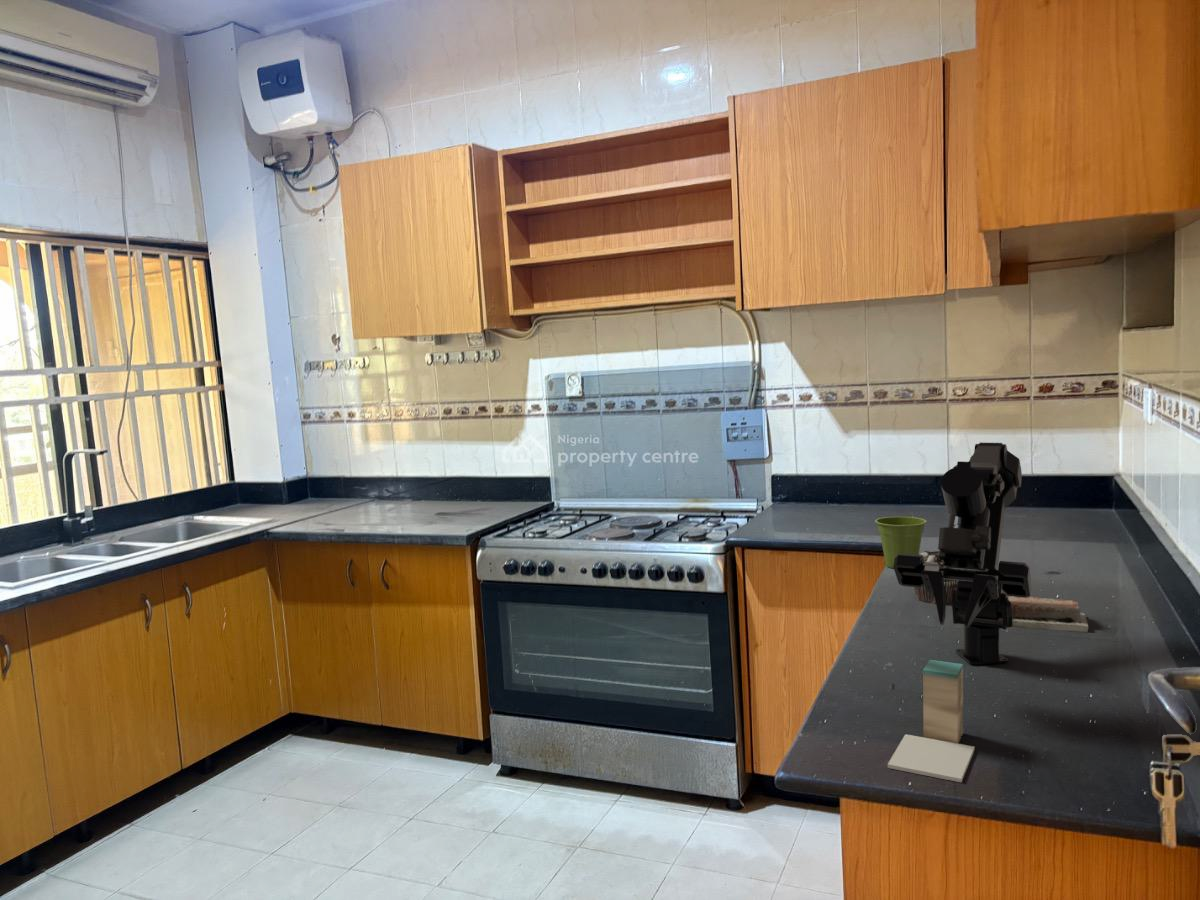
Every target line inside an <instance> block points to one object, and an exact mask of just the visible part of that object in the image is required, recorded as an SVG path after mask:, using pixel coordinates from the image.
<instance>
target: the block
mask: <svg viewBox="0 0 1200 900" xmlns="http://www.w3.org/2000/svg"><path fill="white" fill-rule="evenodd" d="M922 682H923V683H922V685H923V687H922V690H923V691H922V693H923V694H922V695H923V696H922V697H923V699H922V700H923V701H922V702H923V705H922V706H923V707H922V711H923V714H922V715H923V716H922V717H923V723H922V724H923V725H922V726H923V737H924V738H929V739H935V740H941V741H946V742H952V743H957V744H960V741H961V739H962V737H961V736H963V734H964V664H963V663H957V662H956V663H955V662H949V661H943V660H942V661H940V660H935V659H929V661H928V662H927V663H926V665H925V667H924V668H923V670H922Z"/></svg>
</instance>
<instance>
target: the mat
mask: <svg viewBox="0 0 1200 900" xmlns="http://www.w3.org/2000/svg"><path fill="white" fill-rule="evenodd" d="M975 748H976V747H975V746H974V745H967V744H963V743H958V744H957V743H952V742H946V741H941V740H935V739H929V738H924V736H917V735H911V734H904V736H903V738H902V739H901V741H900V742H899V744H898V746H897V747H896V749H895V751H894V753H893V754H892V756H891V757H890V760H889V761H888V763H887V769H891V770H892V769H893V770H896V771H902V772H907V773H911V774H916V775H921V776H925V777H927V776H928V777H932V778H936V779H941V780H947V781H952V782H957V783H963V779H964V777H965V774H966V773H967V770H968V768H969V764H970V763H971V760H972V758H973V756H974V753H975V750H976V749H975Z"/></svg>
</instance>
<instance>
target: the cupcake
mask: <svg viewBox="0 0 1200 900" xmlns="http://www.w3.org/2000/svg"><path fill="white" fill-rule="evenodd" d="M939 551H940V550H936V551H929V550H924V552H920V553H919V555H923V558H924V562H937V563H940V564H942V561H943V560H940V559H939ZM957 584H958V580H951V579H945V582H944V585H945V588H946V604H950V603H951V604H952V593H953V589H957ZM913 591H914V595H915V599H916V600H917V601H919V602H922V603H926V604H935V605H936V601H935V598H934V595H933V593H928V592H927V591H926V590H925V586H924V585H923V586H922V587H913Z"/></svg>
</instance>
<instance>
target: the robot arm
mask: <svg viewBox="0 0 1200 900" xmlns="http://www.w3.org/2000/svg"><path fill="white" fill-rule="evenodd" d="M1021 467H1022V466H1021V461H1020V458H1019V457H1018V456H1016V455H1015V454H1013V453H1011V452H1010V451H1009V450H1008V446H1007V444H1005V443H1002V442H981V441H980V442H979V443H976V444H974V452H973V454H972V455H971V456H970V457H969V461H960V460H959V461H957V463H956V465H955V466H953V467H952V468H950V469H949V470H947V471H946V472H945V473H943V475H942V476H941V479H940V485H941V491H942V495H943V499H944V500H943V501H944V504H945V508H946V511H947V512H948V514H949V519H948V523H947V527H942V526H941V527H939V531H938V543H937V545H938V546H937V549H938V551H939V559H940V560H943V561H942V564H940V563H937V562H924V558H923V555H920V554H919V555H917V554H904V553H900V554H899V555H898V556H896V557H895V560H894V565H893V568H892V569H893V571H894V573H895V576H896V580H897V582H898V584H899V585H900V586H903V587H911V588H912V587H913V588H914V587H922V586H923V585H924V586H925V590H926V591H927V592H928V593H933V595H934V598H935V601H936V604H935V605H936V610H937V614H938V615H937V616H938V621H939V624H940V626H942V625H943V626H944V624H945V619H946V608H947V603H946V588H945V585H944V582H945V579H951V580H958V584H957V589H953V593H952V603H951V608H952V622H953V625H957V624H958V625H963V648H958V649H956V650H955V653H956V654H957V655H958V656H959V657H961V658H962V659H963V660H964V661H966V663H968V664H969V665H972V666H973V665H990V664H994V665H995V664H1008V663H1009V659H1008V658H1007V657H1005V656H1004V655H1003V654H1001V649H1000V648H1001V644H1000V643H1001V641H1000V640H1001V639H1000V637H1001V634H1000V633H1001V632H1000V630H1001V629H1002V630H1007V629H1008V628H1012V627H1014V626H1013V613H1012V604H1011V602H1010V601H1009V598H1008V596H1014V597H1024V598H1027V597H1031V591H1032V577H1031V570H1030V569H1031V568H1030V567H1029V565H1028V564H1027V563H1026V562H1022V561H1021V562H1019V561H1005V560H1000V552H1001V544H1002V537H1003V536H1002V535H1003V528H1004V518H1005V509H1006V508H1007V507H1009V506H1010V505H1011V504H1012V503H1013V502H1014V501H1015V500H1016V498H1017V494H1018V493H1017V491H1018V488H1021V487H1022V477H1023V476H1022V468H1021ZM999 560H1000V561H999Z"/></svg>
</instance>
